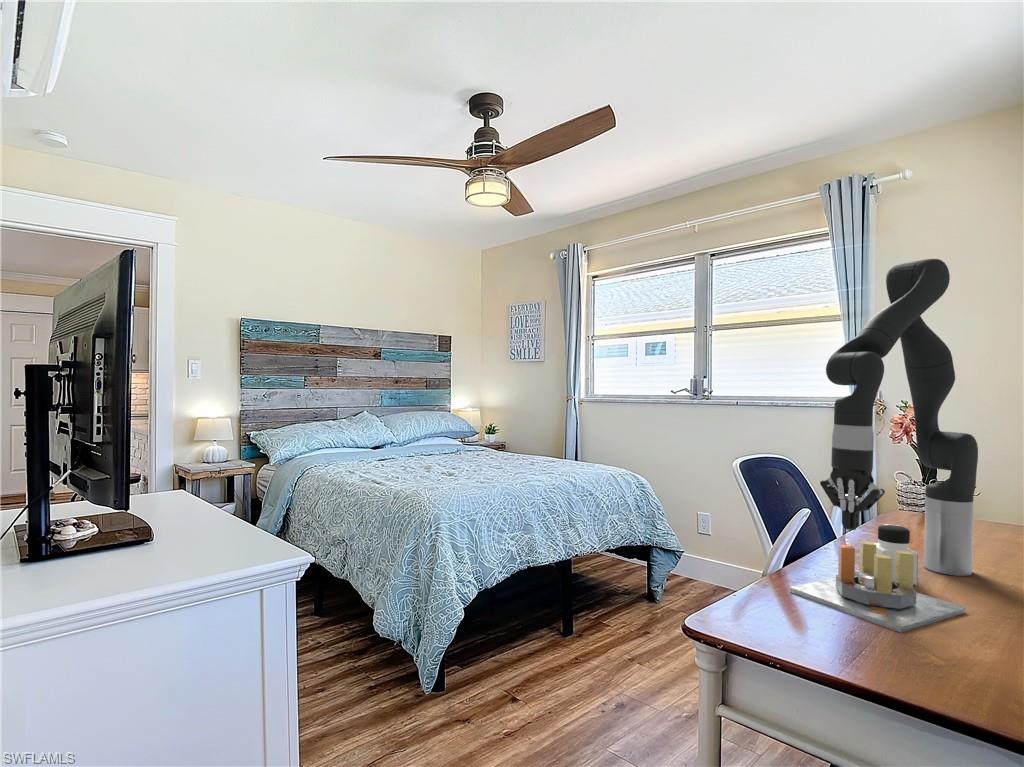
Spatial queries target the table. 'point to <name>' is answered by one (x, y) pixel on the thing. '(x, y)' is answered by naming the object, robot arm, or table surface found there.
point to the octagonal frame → (876, 577)
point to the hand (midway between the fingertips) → (849, 529)
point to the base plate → (887, 617)
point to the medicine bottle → (895, 545)
